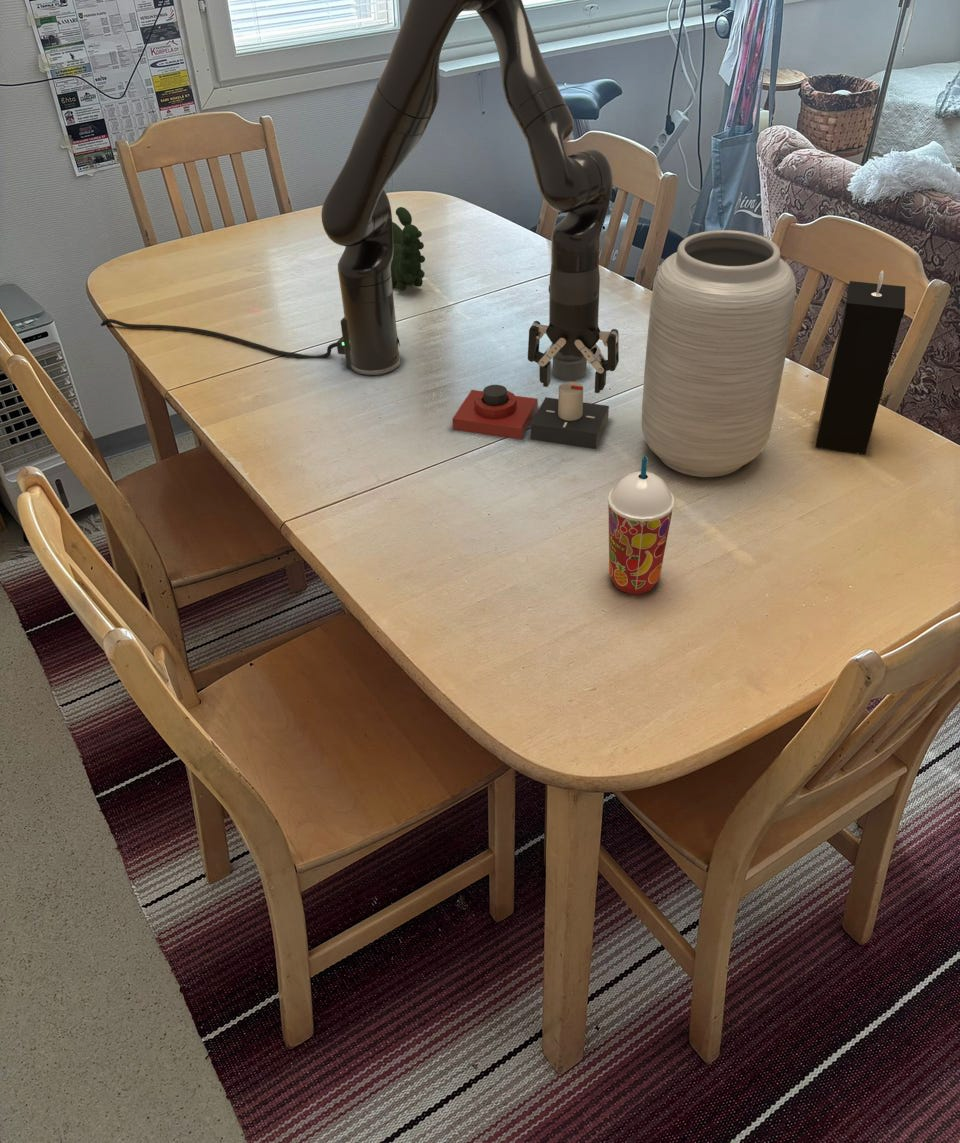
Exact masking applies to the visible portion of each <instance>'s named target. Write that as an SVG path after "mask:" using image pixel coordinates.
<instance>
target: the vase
mask: <svg viewBox="0 0 960 1143" xmlns="http://www.w3.org/2000/svg"><path fill="white" fill-rule="evenodd" d="M796 294H797V282H796V277H795V274H794V271H793V269H792V268H791V267H790V265H789V264H788V263H787V262H786V261H785V260H784V259H782V258H781V250H780V248H779V246H778V245H777V243H775V242H774V241H772V240H771V239H769V238H768V237H765V236H762V235H760V234H757V233H753V232H748V231H743V230H742V231H741V230H732V229H715V230H706V231H702V232H698V233H694V234H691V235H689V236H687V237H685V238H684V239H683V240H682V241H680V243H679V244H678V246H677V249H676V252H674V253H672V254H670V255H669V256H668V257H666V258H665V259H664V260H663V261H662V263H660V265H659V267H658V268H657V271H656V273H655V276H654V279H653V284H652V290H651V299H650V305H649V316H648V325H647V326H648V327H647V336H646V337H647V338H646V347H645V348H646V349H645V362H644V371H643V388H642V398H641V399H642V400H641V431H642V435H643V438H644V440H645V443H646V445H648V447H649V449H650V450H651V451H652V452H653V453H654V454H655V455H656V456H657V457H658V458H659V459H660V461H661V462H662V463H663V464H665V465H666V466H667V467H669V468H670V469H672V470H673V471H676V472H678V473H681V474H683V475H687V476H691V477H692V476H693V477H699V478H717V477H722V476H726V475H729V474H732V473H734V472H736V471H738V470H739V469H740V468H742V467H743V466H745V465H747V464H749V463H750V462H752V461H753V460H754V459H756V458H757V457H758V456H759V454H761V452H763V450H764V448H765V447H766V445H767V443H768V442H769V439H770V435H771V431H772V429H773V428H772V427H773V424H774V419H775V415H776V414H775V413H776V408H777V404H778V398H779V395H780V390H781V384H782V379H783V378H782V377H783V372H784V367H785V362H786V355H787V350H788V345H789V340H790V334H791V328H792V322H793V316H794V310H795V309H794V308H795V302H796Z"/></svg>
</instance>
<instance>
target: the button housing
mask: <svg viewBox="0 0 960 1143" xmlns="http://www.w3.org/2000/svg"><path fill="white" fill-rule="evenodd" d="M538 402H539V398H535V397H530V396H529V397H528V396H522V395H521V396H520V395H515V393H513V392H511V391H509V390H507V403H506V404H504V405H501V406H488V405H486V404H485V403H484V400H483V390H476V389H471V390H470V392H469V393H468V395H467V396H466V398H465V399H464V401H463V402H462V403H461V405H460V406H459V408H458V410H456V412H455V414H454V416H453V417H452V430H454V431H461V432H467V433H473V434H481V435H486V436H487V435H488V436H494V437H500V438H508V439H514V440H520V441H521V440H522V439H523V437H524V435H525V434H526V432H527V430H528V428H529V426H531V423H532V421H533V419H534V417H535V416H536V414H537V412H538V410H539V407H538V406H539V403H538Z"/></svg>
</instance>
